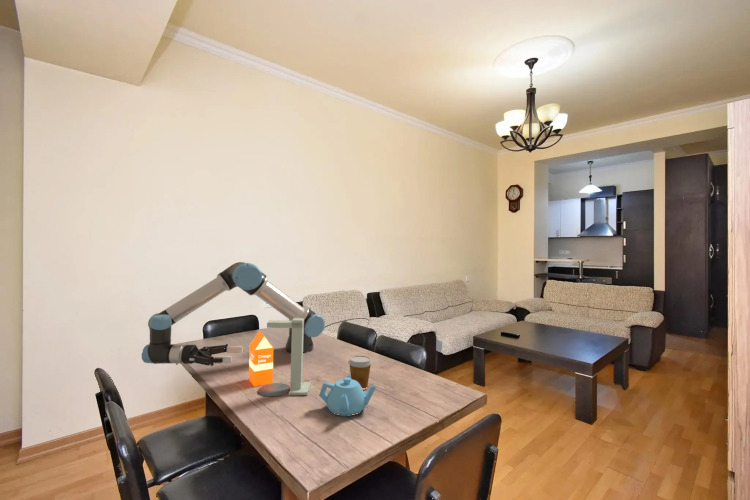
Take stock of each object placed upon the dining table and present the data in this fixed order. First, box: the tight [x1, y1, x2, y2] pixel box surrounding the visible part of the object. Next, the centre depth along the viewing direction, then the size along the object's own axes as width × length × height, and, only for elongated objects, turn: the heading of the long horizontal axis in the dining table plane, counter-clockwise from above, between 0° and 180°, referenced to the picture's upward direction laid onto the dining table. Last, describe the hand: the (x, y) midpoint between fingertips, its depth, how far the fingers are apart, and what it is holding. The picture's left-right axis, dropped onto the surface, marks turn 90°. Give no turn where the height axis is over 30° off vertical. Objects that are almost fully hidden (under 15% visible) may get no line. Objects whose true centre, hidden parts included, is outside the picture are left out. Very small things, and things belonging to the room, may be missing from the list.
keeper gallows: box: [266, 318, 311, 396], centre depth 137 cm, size 16×10×28 cm, turn 94°
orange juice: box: [248, 330, 275, 387], centre depth 145 cm, size 8×9×20 cm
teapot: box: [318, 374, 377, 415], centre depth 123 cm, size 15×15×11 cm
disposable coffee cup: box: [347, 354, 373, 388], centre depth 141 cm, size 10×10×12 cm
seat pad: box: [257, 382, 290, 398], centre depth 136 cm, size 12×12×1 cm
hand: (237, 354), depth 145 cm, fingers open, 13 cm apart
